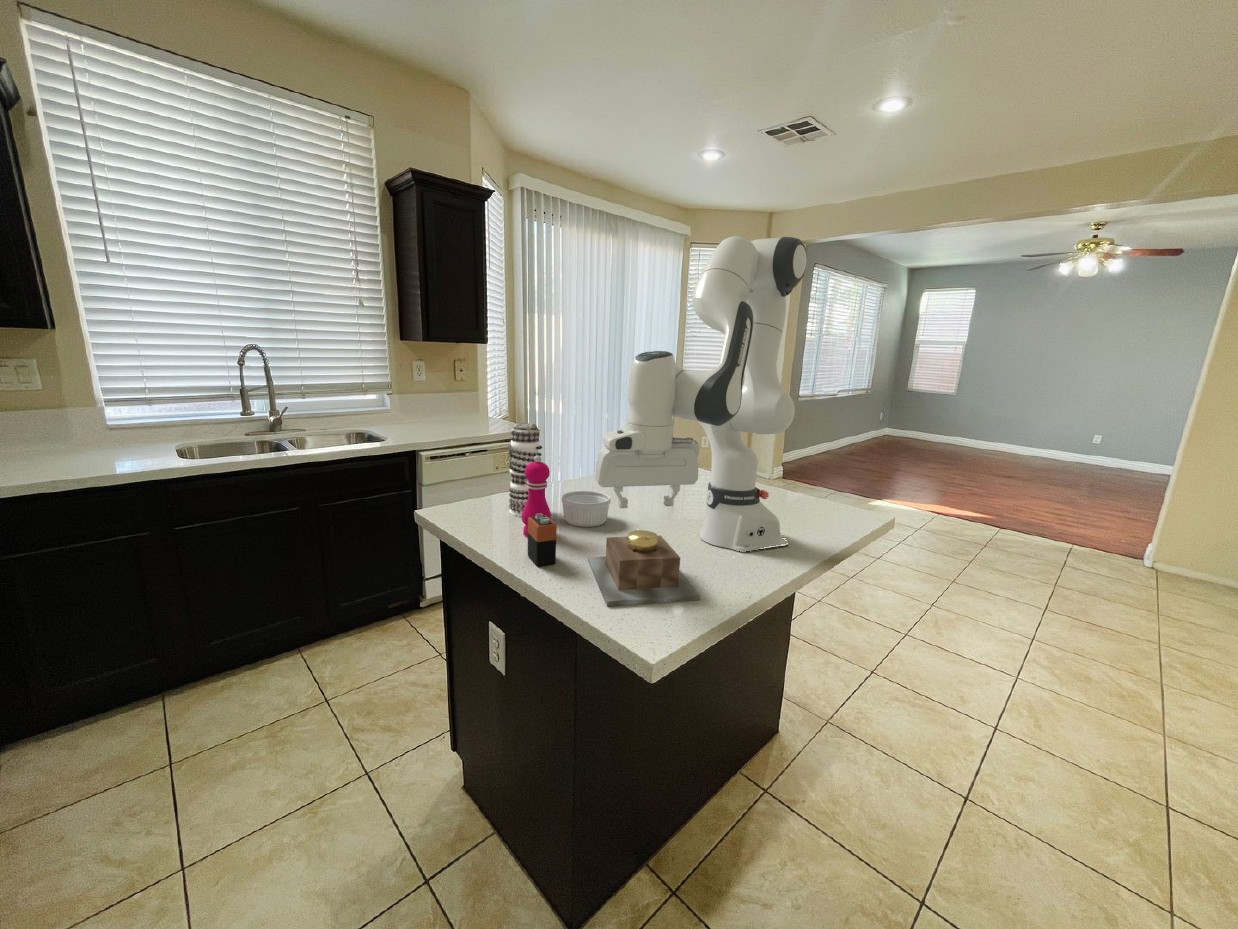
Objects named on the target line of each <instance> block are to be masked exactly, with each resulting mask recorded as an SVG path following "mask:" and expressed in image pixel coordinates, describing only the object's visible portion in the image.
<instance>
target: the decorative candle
mask: <svg viewBox="0 0 1238 929" xmlns="http://www.w3.org/2000/svg"><path fill="white" fill-rule="evenodd" d="M510 431H511V436H510V437H511V438H510V439H511V440H510V445H508V448H507V449H508V455H509V457H508V463H509V465H508V467H509V473H510V477H511V478H510V487H509V488H508V490H509V492H510V493H509V497H510V498H509V499H508V502H509V505H508V508H509V514H510V515H512V516H515V515H517V516H516V517H522V512H523V509H524V507H525V505H526V503H527V500H528V493H529V492H528V488H527V481H528V479H527V478H526V477H525V468H526V466H527V465H528V464H529V463H531V462H535V461H534V457H535V456H537V455H538V456H540V457H542V452H540V450H541V449H542V448H543V446H542V445H541V441H540V432H541V429H539V428H538V426H537V425H536V424H534V423H529V422H528V423H527V422H523V423H521V422H519V423H516V424H514V425H513V427H512V428H510Z"/></svg>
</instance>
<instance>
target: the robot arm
mask: <svg viewBox="0 0 1238 929" xmlns="http://www.w3.org/2000/svg"><path fill="white" fill-rule="evenodd" d="M807 262H808V254H807V249H806V246H805V245H804V243H803V241H802V240H801V239H800V238H796V237H792V236H782V237H780V238H779V237H776V238H774V237H773V238H769V237H767V238H758V239H757V238H756V239H754V240H749V239H748V238H745V237H743V236H739V235H738V236H729V237H727V238H725V239H723V240H722V241H721V242H720V243H719V244H718V245H717V247H716V248H715V249H714V251H712V253H711V255H710V256H709V258H708V260H707V262H706V264H705V265H704V267H703V269H702V270H701V273H700V276H699V278H698V280H697V282H696V284H695V288H694V290H693V294H692V299H691V300H692V301H691V302H692V306H693V309H694V310H693V311H694V312H695V314H696V315H697V317H698V319H699V320H701V321H702V322H703V323H704V324H705V325H706V326H708V328H709V327H710V328H711V329H713V330H716V331H718V332H720V333H722V334H724V339H723V344H722V348H721V351H720V356H719V361H718V365H717V366H716V367H715V368H713V369H711V370H708V371H705V370H704V371H703V370H690V369H684V367H681V366H680V365H679V364H677V363H676V360H675V355H674V353H672V352H670V351H668V350H667V351H665V350H654V351H644V352H641V353H638V354H637V355H636V356H635V357H634V358H633V361H632V364H631V367H630V373H629V379H628V391H627V392H628V393H627V395H628V396H627V399H628V400H627V401H628V405H629V414H628V416H627V420H626V421H627V422H626V426H625V427H624V426H623V428H620V429H616V430H612V431H610V432H606V433H604V434H603V435H602V443H603V445H604V446H603V447H602V448H601V449H600V450H599V451H598V454H597V455H598V456H597V460H596V466H595V480H596V482H597V484H598V485H599V486H600V487H602V488H612V489H613V491H614V493H615V495H616V497H617V499H618V504H617V506H618V508H619V509H628V506H629V505H628V503H629V499H627V497H625V496H623V495H622V494H621V493H623V491H624V487H625V488H627V487H649V486H650V487H652V486H653V487H654V486H655V487H656V486H657V487H659V486H669V487H670V488H671V489H670V491H669V493H668V494H667V495H664V496H663V505H664V506H665V507H674V503H675V502H674V501H675V498H676V497H677V495H679V492H680V491H681V486H688V485H695V484H696V483H697V481H698V479H699V462H698V458H699V456H700V455H699V454H700V443H699V442H698V441H697V440H696V439H694V437H693V438H692V437H673V436H674V434H673V433H674V418H677V419H678V418H679V419H681V420H690V421H696V422H698V424H699V425H700V426H701V428H703V431H704V432H705V435H706V437H707V439H708V441H709V445H710V451H711V465H710V466H711V470H710V482H708V485H707V492H706V511H705V515H704V517H703V518H704V519H703V522H702V524H701V528H700V531H699V532H698V536H699V538H700V539H701V540H702V541H704V542H706V543H707V544H709V545H712V546H713V545H714V546H716V547H720V548H725V549H730V550H734V551H736V552H739V551H740V552H739V553H747V552H746V551H750V552H752V551H751V550H756V549H760V548H764V547H769V546H776V545H781V544H786V543H788V544H789V540H788V538H787V537H786V536H785V535H784V534H783V535H781V534H782V532H781V524H780V520H779V518H778V517H777V516H776V515H775V514H774V513H773V512H772V511H771V510H770V509H769V508H768V507H767V506H765V505H764V503H762V502H761V499H763V500H768V498H769V497H770V493H769V492H768V491H766V490H765V489H760V488H759V487H757V486H756V483H757V482H756V481H757V475H758V474H757V472H758V466H759V464H758V463H759V460H758V457H757V454H756V453H755V451H754V450H752V448H750V447H749V446H748V445H747V444H746V443H745V442H744V439H743V436H742V433H741V432H744V433H750V434H757V435H776V434H783V433H784V432H785V431H786V430H787V429H788V428H789V427H790V426H791V424H792V423H793V420H794V418H795V410H796V408H795V403H794V401H793V398H792V397H791V396H790V394H789V393H788V392H787V391H786V390H785V389H784V388H783V385H782V384H781V382H780V380H779V376H778V371H777V370H778V369H777V366H778V364H777V362H778V356H779V350H780V345H781V341H782V336H783V331H784V327H785V321H786V312H787V310H786V309H787V297H788V296H789V295H790V294H791V293H792V291H793V289H794V288H795V287H797V286H798V285H799V283H800V282H801V280H802V279H803V277H804V275H805V273H806V270H807ZM782 538H786V539H785V540H788V541H785V540H784V539H782Z"/></svg>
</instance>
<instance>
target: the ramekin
mask: <svg viewBox="0 0 1238 929" xmlns="http://www.w3.org/2000/svg"><path fill="white" fill-rule="evenodd" d="M561 503H562V513H563V518H564V520H565V521H566V523H567V524H569V525H571V526H575V527H578V528H579V527H581V528H592V527H593V528H594V527H598V526H601V525H604V523H605V522H606V521H607V519H608V513H609V509H610V504H611V496H610V495H608V494H606V493H604V492H600V491H595V490H574V491H573V490H572V491H568V492H566V493H563V494H562V496H561Z"/></svg>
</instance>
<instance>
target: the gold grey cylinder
mask: <svg viewBox="0 0 1238 929" xmlns="http://www.w3.org/2000/svg"><path fill="white" fill-rule="evenodd" d="M658 536H659V535H658V534H657V533H655V532H653V531H650V530H645V529H644V530H643V529H638V530H636V529H635V530H632V531H629V532H628V533H627V537H628V543H627V547H628V549H630V550H632V551H633V552H639V553H651V552H654V551H656V550H657V542H658Z"/></svg>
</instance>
